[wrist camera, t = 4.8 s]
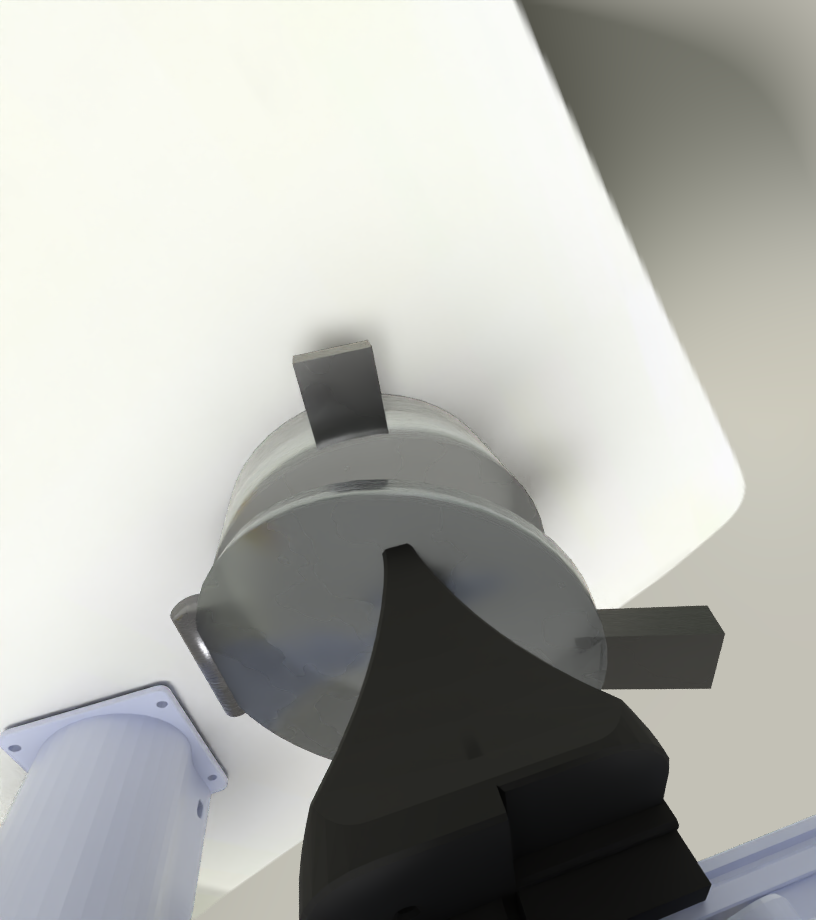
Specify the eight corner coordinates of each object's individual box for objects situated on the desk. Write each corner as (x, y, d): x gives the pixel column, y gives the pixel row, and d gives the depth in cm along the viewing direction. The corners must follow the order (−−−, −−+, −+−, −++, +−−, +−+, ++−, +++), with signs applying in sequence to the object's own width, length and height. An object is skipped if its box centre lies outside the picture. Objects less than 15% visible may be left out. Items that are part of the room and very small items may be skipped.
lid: (673, 749, 17) (688, 785, 16) (264, 744, 19) (253, 774, 18) (739, 444, 11) (770, 469, 10) (130, 498, 13) (103, 522, 12)
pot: (508, 620, 27) (548, 692, 22) (292, 686, 25) (291, 777, 21) (484, 296, 18) (542, 313, 14) (149, 366, 16) (97, 409, 12)
